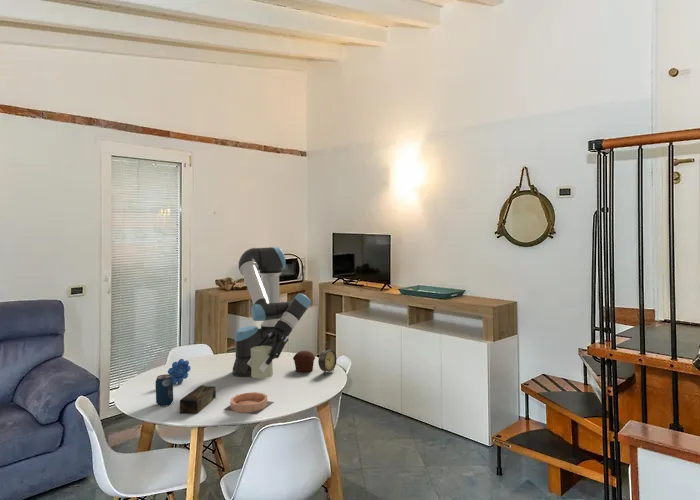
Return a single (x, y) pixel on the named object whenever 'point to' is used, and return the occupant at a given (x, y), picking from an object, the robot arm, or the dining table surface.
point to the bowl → (248, 402)
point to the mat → (252, 412)
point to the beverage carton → (197, 399)
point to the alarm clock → (327, 360)
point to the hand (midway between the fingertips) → (255, 367)
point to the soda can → (164, 390)
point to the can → (260, 362)
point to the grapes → (179, 371)
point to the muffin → (304, 361)
